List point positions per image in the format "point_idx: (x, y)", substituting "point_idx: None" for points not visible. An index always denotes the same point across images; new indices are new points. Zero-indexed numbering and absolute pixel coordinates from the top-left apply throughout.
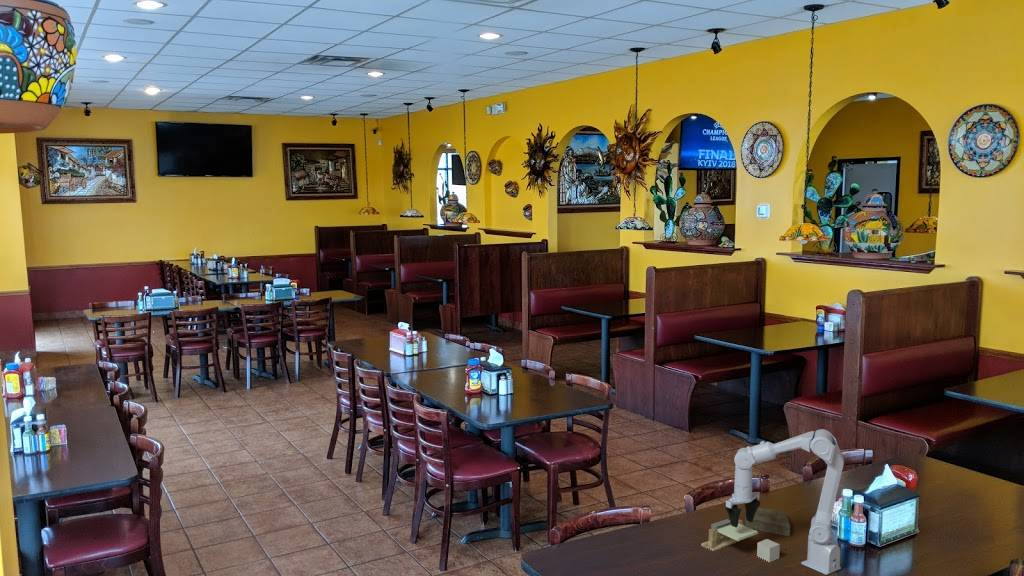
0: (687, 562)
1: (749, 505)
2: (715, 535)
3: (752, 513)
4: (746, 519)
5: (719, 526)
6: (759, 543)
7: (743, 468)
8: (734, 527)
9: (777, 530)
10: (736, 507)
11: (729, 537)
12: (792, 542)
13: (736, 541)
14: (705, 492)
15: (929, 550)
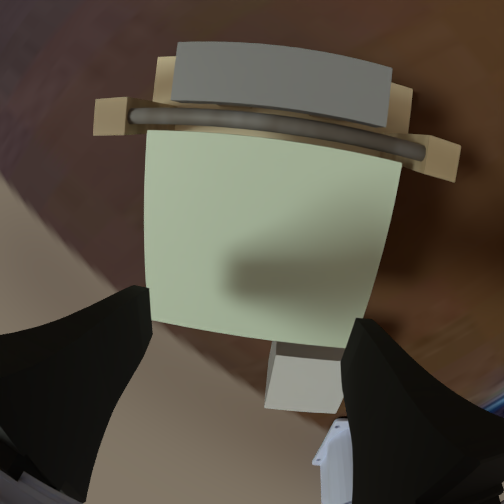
0: (20, 152)
1: (388, 473)
2: (142, 133)
3: (355, 431)
4: (358, 320)
5: (207, 102)
6: (274, 364)
7: None
8: (295, 199)
9: None
10: (40, 479)
11: (335, 120)
12: (487, 324)
13: None
14: None
15: None
